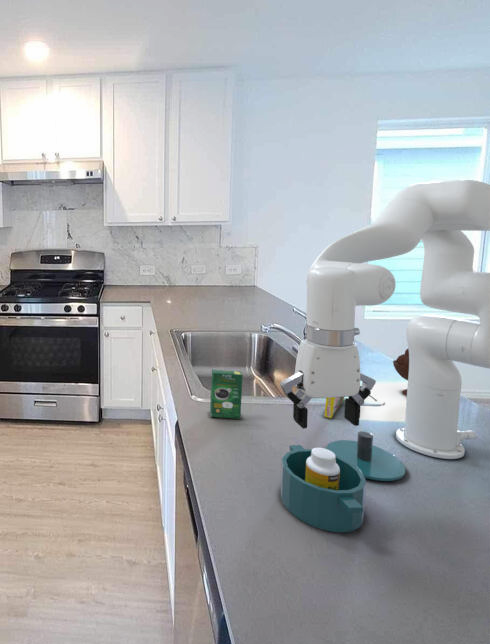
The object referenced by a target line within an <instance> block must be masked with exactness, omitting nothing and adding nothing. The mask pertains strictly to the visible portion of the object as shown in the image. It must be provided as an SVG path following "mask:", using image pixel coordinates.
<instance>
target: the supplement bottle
mask: <svg viewBox="0 0 490 644" xmlns="http://www.w3.org/2000/svg"><path fill="white" fill-rule="evenodd" d="M339 476H340V468H339V466H338V465H337V463H336V456H335V454H334V453H333V452H332V451H330V450H327V449H326V448H323V447H314V448H312V451H311V456H310V457H308V458H307V460H306V475H305V481H306V482H308V483H311V484H313V485H316V486H318V487H321V488H326V489H332V490H339Z"/></svg>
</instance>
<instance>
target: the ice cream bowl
mask: <svg viewBox="0 0 490 644" xmlns="http://www.w3.org/2000/svg"><path fill="white" fill-rule="evenodd" d="M392 364H393V367H394V370H395V371H396V372H397V374H398V375H399V376H400V377H401V378H402V379H404V380H405V381H408V375H409V349H408V348H407V349H405V351H404V353H403V354H401V355H398V357H397V358H396V359H395V360H392ZM401 393H402V395H404V396H406V397H407V388H406V389H403V390H402V391H401Z"/></svg>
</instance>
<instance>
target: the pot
mask: <svg viewBox="0 0 490 644" xmlns="http://www.w3.org/2000/svg"><path fill="white" fill-rule="evenodd" d="M312 449H313V448H312ZM312 449H310V448H304V446H303V445H301V444H293V445H292V444H290V445H289V451H287V452H286V453H285V454H284V455H283V456H282V457H281V469H280V470H281V471H280V472H281V473H280V499H281V502H282V504H283V505H284V507H285V508H286V510H287V511H288V512H289V513H290V514H292V515H293V516H294V517H295V518H297V519H298V520H300V521H301V522H303V523H305V524H307V525H309V526H311V527H314V528H317V529H319V530H322V531H327V532H332V533H350V532H354V531H356V530H358V529H359V528H361V526H362V525H363V522H364V517H365V508H366V507H365V506H366V491H367V480H366V478H365V477H364V475H363V473H362V472H361V471H360V470H359V469H358V468H357V467H356V466H354V465H353V464H352V463H350V462H348V461H346V460H344V459H343V458H341V457H339V456H336V455H335V456H336V463H337V465H338V466H339V468H340V476H339V490H332V489H326V488H321V487H318V486H316V485H313V484H311V483H308V482H306V481H305V475H306V460H307V458H308V457H310V456H311V451H312Z"/></svg>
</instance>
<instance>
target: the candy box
mask: <svg viewBox="0 0 490 644" xmlns="http://www.w3.org/2000/svg"><path fill="white" fill-rule="evenodd" d="M344 400H345V397H329V398H325V406H324V418H326V419H332V418H333V417H334V415H335V413H336V412H337V410H338V409H339V407H340V406H341V404H342V403H343V401H344Z"/></svg>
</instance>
